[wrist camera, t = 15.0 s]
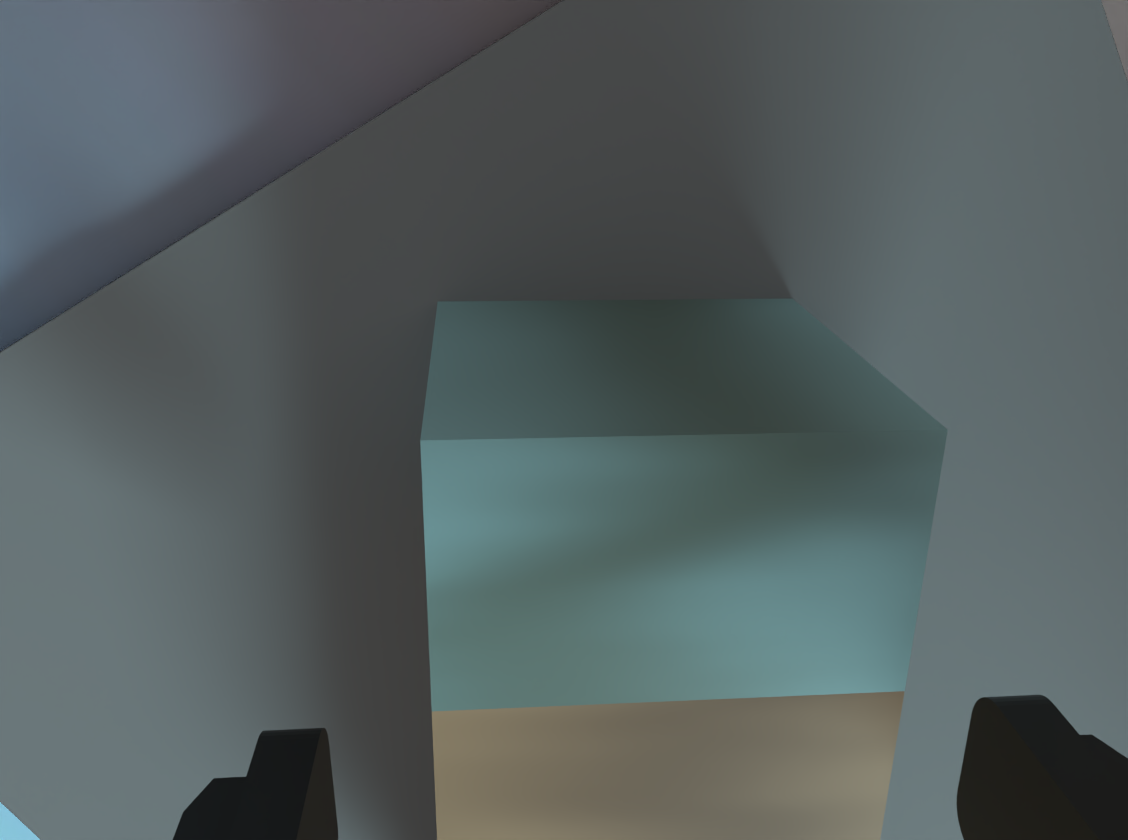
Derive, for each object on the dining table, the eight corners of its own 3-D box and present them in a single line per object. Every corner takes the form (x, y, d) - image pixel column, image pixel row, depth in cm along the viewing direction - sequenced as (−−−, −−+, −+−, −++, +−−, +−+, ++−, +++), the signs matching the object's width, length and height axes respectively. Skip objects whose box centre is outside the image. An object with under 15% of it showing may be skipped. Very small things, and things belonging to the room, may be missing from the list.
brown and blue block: (454, 1261, 14) (420, 440, 9) (459, 945, 18) (437, 301, 14) (816, 1229, 14) (948, 429, 10) (729, 929, 19) (792, 298, 14)
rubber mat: (985, -265, 12) (1010, -278, 12) (1292, 651, 18) (1319, 671, 18) (-258, 513, 15) (-287, 532, 14) (363, 1109, 20) (360, 1139, 20)
